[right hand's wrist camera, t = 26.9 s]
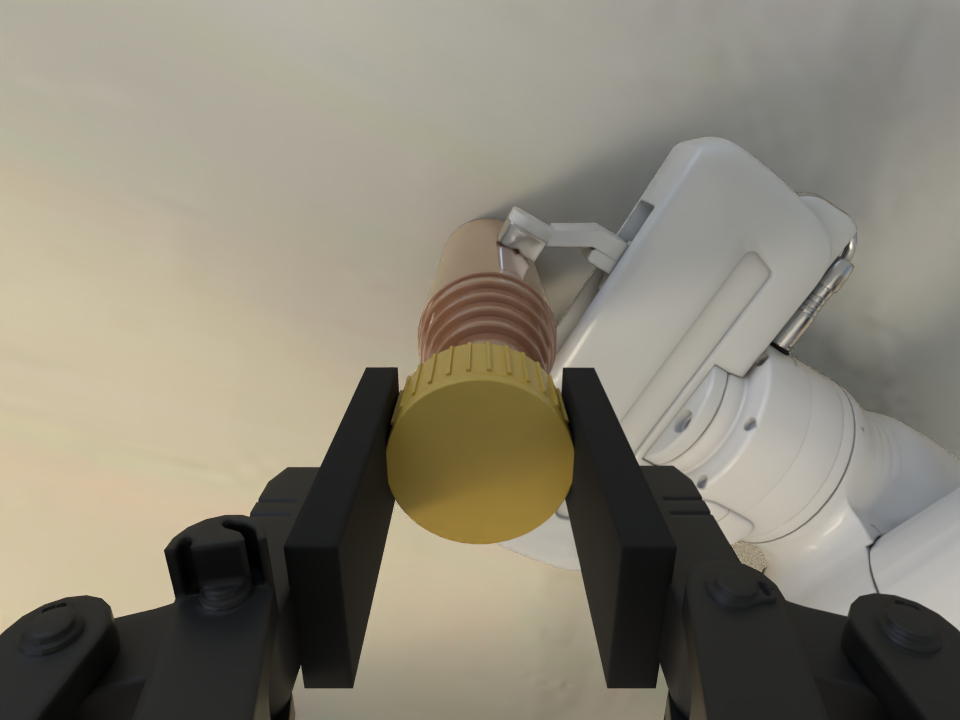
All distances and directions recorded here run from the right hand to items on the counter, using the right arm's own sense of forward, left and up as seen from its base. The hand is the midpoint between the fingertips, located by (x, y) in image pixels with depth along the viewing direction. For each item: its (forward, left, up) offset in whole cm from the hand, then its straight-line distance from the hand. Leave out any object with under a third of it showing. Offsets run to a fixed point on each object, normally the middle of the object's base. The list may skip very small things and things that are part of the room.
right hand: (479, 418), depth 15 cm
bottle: (0, 0, -18) cm, 18 cm away
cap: (0, 0, +2) cm, 2 cm away
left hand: (0, 0, -12) cm, 12 cm away
